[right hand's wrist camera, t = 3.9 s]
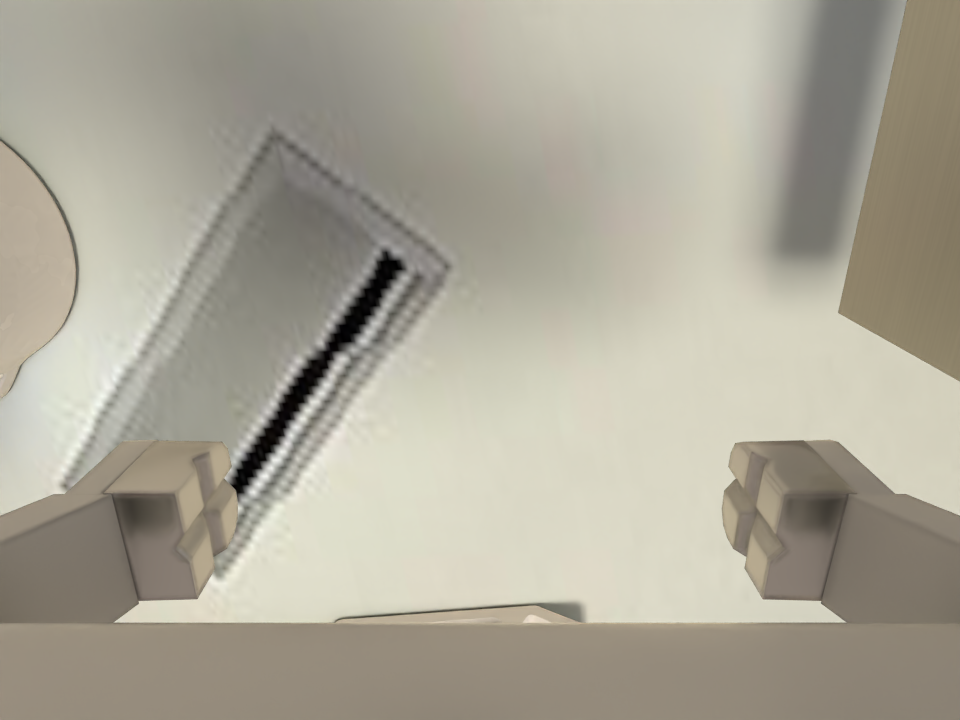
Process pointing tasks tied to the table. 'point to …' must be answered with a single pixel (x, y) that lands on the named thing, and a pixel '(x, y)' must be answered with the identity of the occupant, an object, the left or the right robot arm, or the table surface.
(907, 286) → the bar
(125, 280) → the table surface
